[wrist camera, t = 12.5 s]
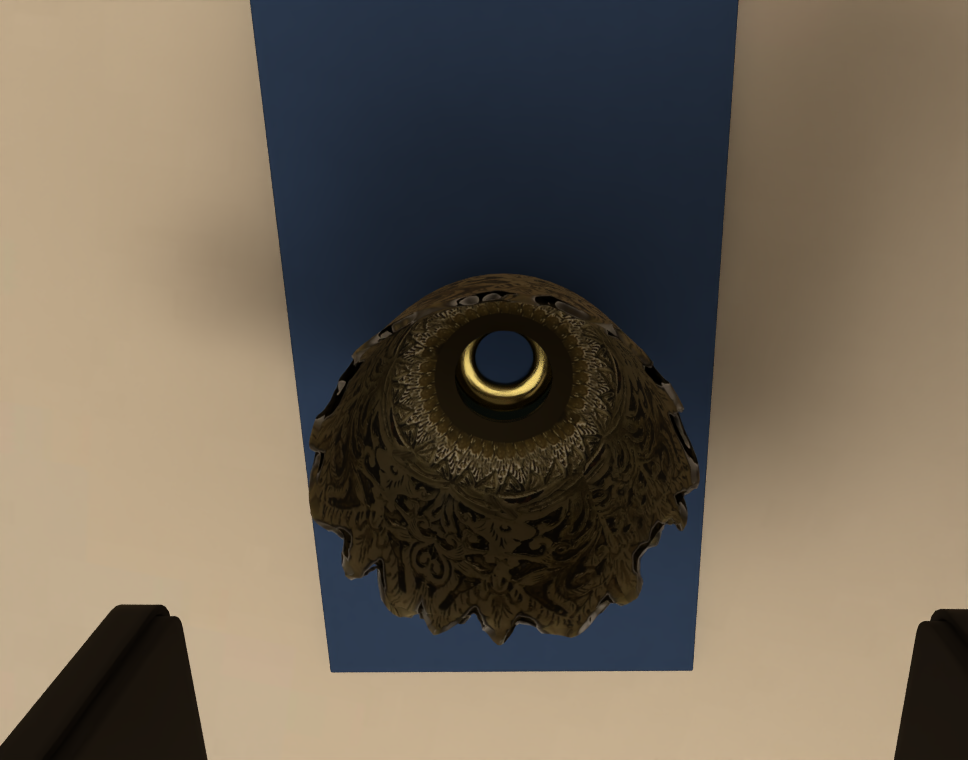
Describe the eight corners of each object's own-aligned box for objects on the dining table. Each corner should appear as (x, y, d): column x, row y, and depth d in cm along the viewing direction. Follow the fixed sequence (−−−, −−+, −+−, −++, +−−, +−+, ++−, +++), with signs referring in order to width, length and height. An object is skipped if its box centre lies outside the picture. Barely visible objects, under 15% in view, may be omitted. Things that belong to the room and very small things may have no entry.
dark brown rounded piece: (540, 517, 24) (553, 706, 17) (328, 395, 23) (240, 540, 16) (688, 317, 22) (779, 434, 15) (461, 171, 21) (434, 217, 13)
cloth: (740, -92, 19) (745, -96, 19) (690, 663, 26) (692, 671, 26) (245, -70, 20) (240, -73, 19) (332, 665, 27) (330, 673, 27)
